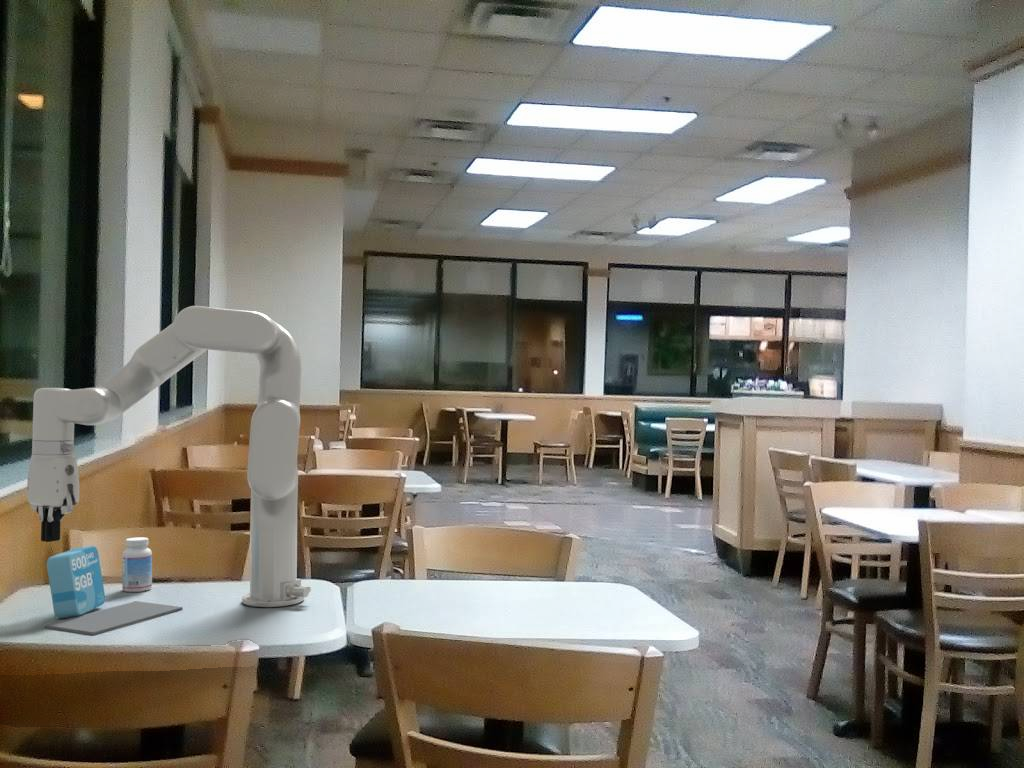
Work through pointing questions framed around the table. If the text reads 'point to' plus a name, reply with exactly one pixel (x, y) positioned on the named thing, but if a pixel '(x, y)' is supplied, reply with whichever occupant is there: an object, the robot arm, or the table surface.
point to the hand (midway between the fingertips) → (50, 540)
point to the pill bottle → (137, 565)
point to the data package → (75, 582)
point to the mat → (113, 617)
